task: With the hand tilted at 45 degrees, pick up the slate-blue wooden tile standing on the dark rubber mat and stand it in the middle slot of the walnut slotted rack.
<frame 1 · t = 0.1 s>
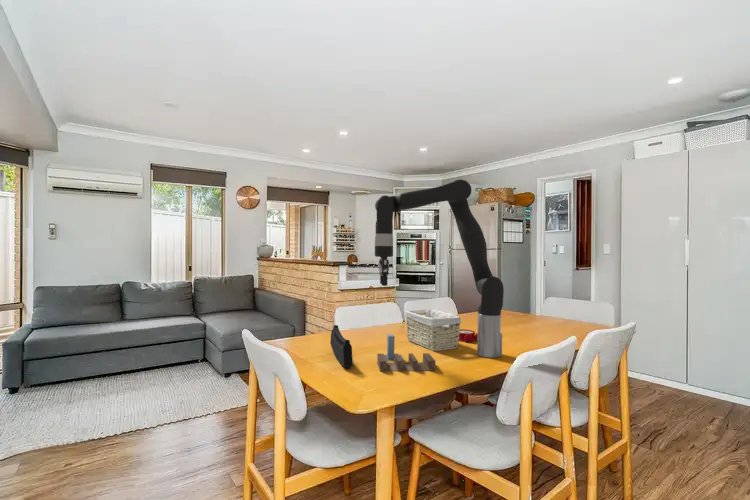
hand: (383, 284, 160), 29 cm above the table, tool pointing down, fingers open, 8 cm apart
rack: (405, 367, 145), on the table
magazine: (340, 359, 156), on the table
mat: (390, 358, 157), on the table
alarm clock: (467, 340, 192), on the table
storage basket: (431, 345, 181), on the table
tile: (390, 357, 157), resting on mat
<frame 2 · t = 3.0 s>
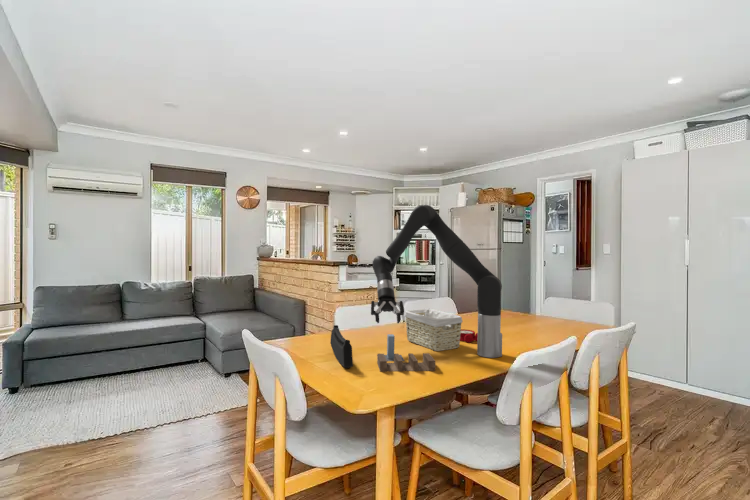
hand: (388, 322, 165), 13 cm above the table, tool tilted 45°, fingers open, 8 cm apart
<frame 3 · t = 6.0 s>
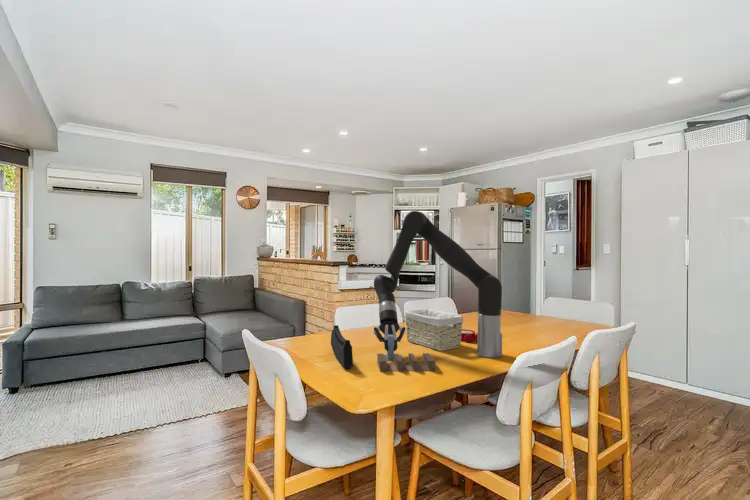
hand: (391, 349, 155), 4 cm above the table, tool tilted 45°, fingers closed on tile, 2 cm apart
tile: (390, 357, 157), resting on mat, touching gripper
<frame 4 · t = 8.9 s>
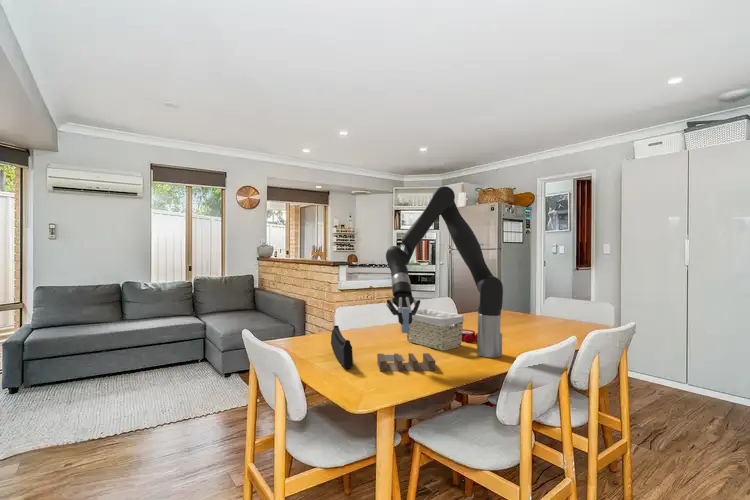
hand: (405, 323, 144), 17 cm above the table, tool tilted 45°, fingers closed on tile, 2 cm apart
tile: (404, 331, 146), point 13 cm above the table, touching gripper
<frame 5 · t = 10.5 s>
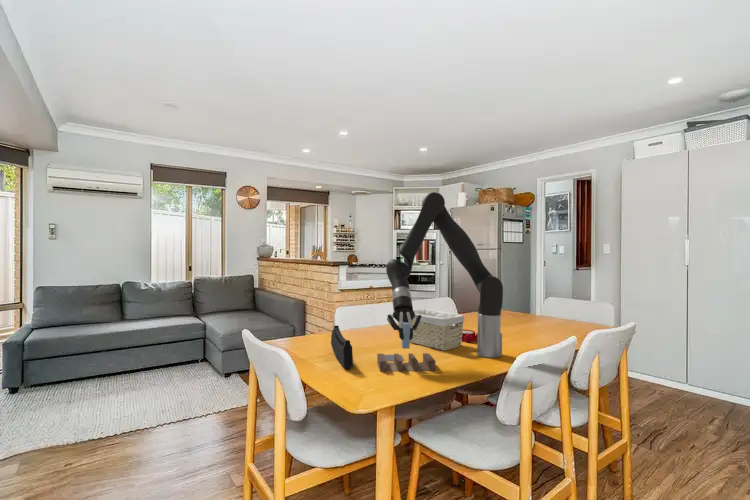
hand: (406, 338, 143), 11 cm above the table, tool tilted 45°, fingers closed on tile, 2 cm apart
tile: (405, 347, 145), point 8 cm above the table, touching gripper
when the fingers open (6 cm above the table, at t = 11.9 s): tile drops 2 cm, resting on rack.
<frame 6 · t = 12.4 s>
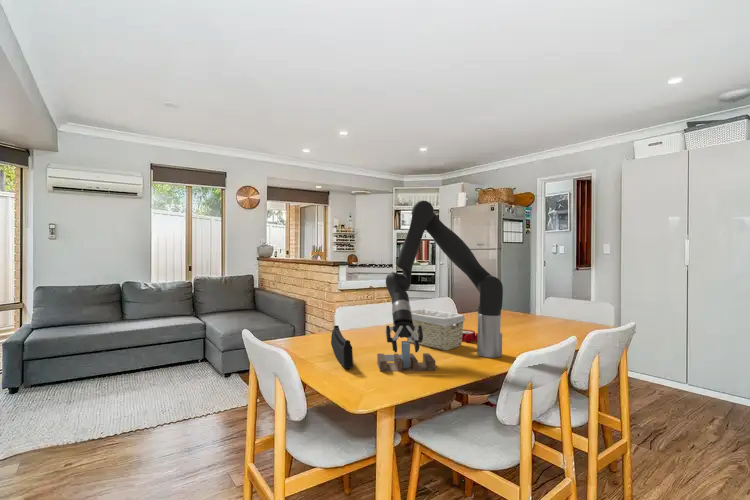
hand: (406, 351, 144), 6 cm above the table, tool tilted 45°, fingers open, 7 cm apart
tile: (405, 366, 145), resting on rack
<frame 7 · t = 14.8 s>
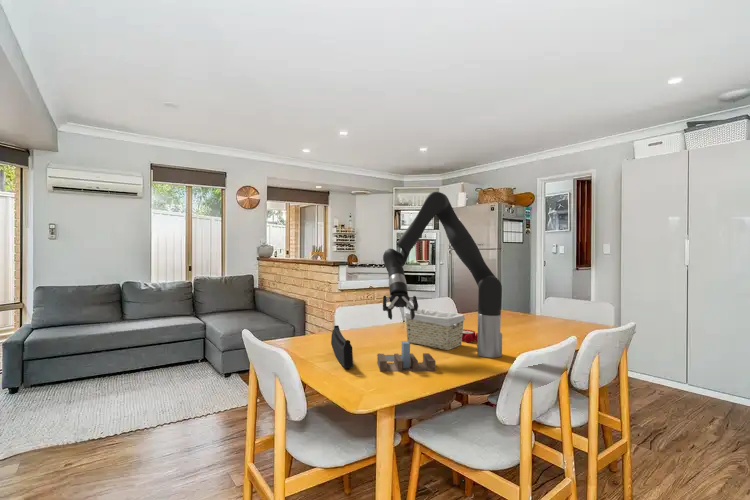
hand: (401, 318, 156), 16 cm above the table, tool tilted 45°, fingers open, 8 cm apart
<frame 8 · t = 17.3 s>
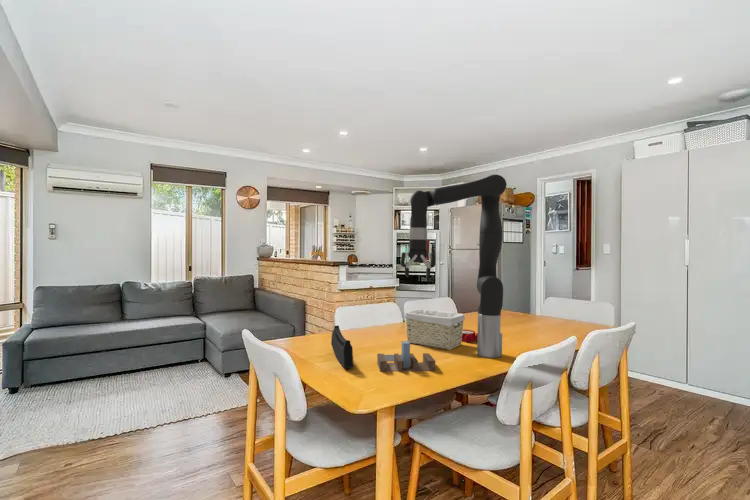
hand: (417, 277, 166), 32 cm above the table, tool pointing down, fingers open, 8 cm apart
at the end: tile 0.0 cm off-centre on the rack, point 0.4 cm above the rack's base; tile tilted 0°; the gripper is holding nothing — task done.
